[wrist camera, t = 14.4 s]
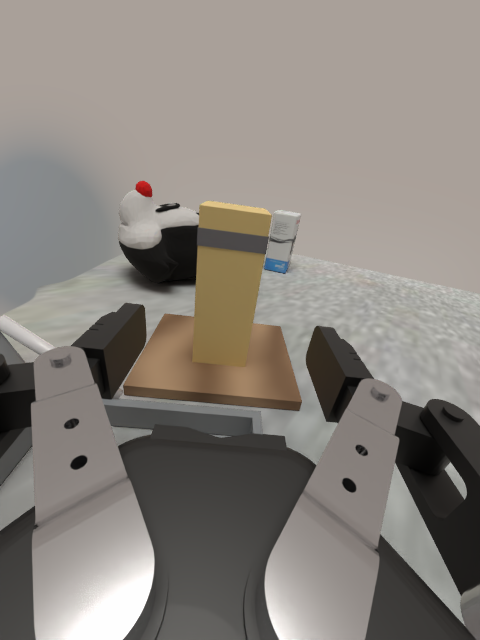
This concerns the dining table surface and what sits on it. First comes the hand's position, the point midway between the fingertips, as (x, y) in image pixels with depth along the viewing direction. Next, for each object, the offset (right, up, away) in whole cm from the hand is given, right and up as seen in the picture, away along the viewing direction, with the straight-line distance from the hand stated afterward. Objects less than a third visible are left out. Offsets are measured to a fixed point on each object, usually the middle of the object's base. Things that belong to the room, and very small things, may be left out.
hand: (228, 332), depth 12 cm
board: (-2, -3, +13) cm, 14 cm away
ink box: (+9, +13, +46) cm, 48 cm away
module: (-1, -2, +13) cm, 13 cm away
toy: (-9, +8, +32) cm, 34 cm away
